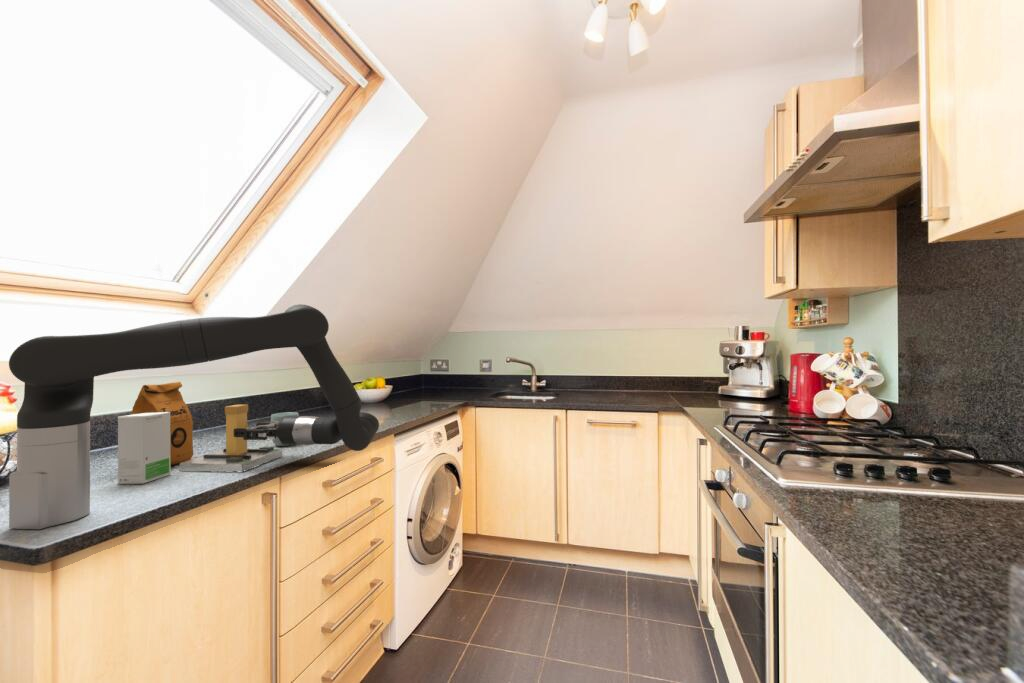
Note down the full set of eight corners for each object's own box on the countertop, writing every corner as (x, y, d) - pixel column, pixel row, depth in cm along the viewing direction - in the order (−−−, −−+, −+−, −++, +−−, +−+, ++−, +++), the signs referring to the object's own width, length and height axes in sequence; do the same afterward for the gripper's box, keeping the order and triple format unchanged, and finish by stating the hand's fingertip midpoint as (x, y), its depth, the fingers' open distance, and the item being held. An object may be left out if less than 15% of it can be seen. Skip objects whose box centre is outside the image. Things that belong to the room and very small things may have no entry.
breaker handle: (236, 455, 116) (236, 406, 116) (224, 455, 117) (224, 406, 117) (248, 451, 121) (248, 404, 121) (236, 451, 121) (236, 404, 121)
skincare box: (143, 484, 100) (143, 416, 100) (114, 484, 100) (114, 416, 100) (172, 474, 108) (172, 411, 108) (146, 474, 108) (146, 411, 108)
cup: (279, 449, 134) (279, 416, 134) (266, 446, 138) (266, 414, 139) (303, 444, 141) (303, 413, 141) (290, 441, 145) (290, 411, 145)
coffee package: (199, 460, 122) (199, 381, 122) (156, 472, 110) (156, 384, 110) (169, 458, 124) (169, 381, 124) (123, 471, 111) (123, 384, 112)
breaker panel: (241, 472, 109) (241, 461, 109) (179, 471, 111) (179, 460, 111) (282, 456, 125) (282, 446, 125) (227, 455, 126) (227, 445, 127)
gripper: (317, 412, 124) (263, 411, 126) (285, 420, 110) (226, 420, 111) (317, 439, 124) (263, 438, 125) (285, 450, 109) (226, 449, 111)
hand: (246, 429), depth 118 cm, fingers open, 8 cm apart
